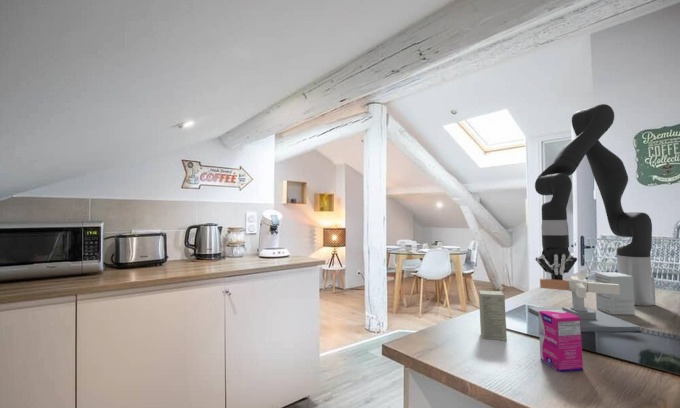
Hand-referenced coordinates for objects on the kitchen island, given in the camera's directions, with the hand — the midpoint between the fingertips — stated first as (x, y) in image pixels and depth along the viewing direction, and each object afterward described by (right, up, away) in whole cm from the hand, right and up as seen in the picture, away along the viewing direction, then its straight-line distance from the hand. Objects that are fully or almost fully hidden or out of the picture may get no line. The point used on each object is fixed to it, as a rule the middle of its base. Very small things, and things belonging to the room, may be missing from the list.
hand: (557, 285), depth 107 cm
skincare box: (-31, -9, -19) cm, 37 cm away
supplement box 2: (+21, -9, +1) cm, 23 cm away
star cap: (+2, 0, -6) cm, 7 cm away
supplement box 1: (-24, -9, -36) cm, 44 cm away
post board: (+3, -9, -6) cm, 11 cm away
